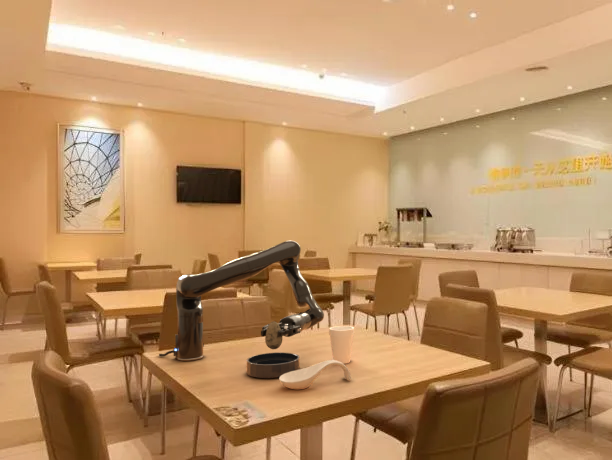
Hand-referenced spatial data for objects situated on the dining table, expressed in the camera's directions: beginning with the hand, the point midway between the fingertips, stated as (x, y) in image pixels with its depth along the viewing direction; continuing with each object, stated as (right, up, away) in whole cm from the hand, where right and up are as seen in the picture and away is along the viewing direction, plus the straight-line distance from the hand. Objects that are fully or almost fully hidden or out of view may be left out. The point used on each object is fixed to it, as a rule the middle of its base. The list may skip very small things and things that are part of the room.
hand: (270, 333), depth 187 cm
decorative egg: (+1, -6, +2) cm, 7 cm away
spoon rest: (+18, -14, -12) cm, 27 cm away
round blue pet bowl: (0, -14, +2) cm, 14 cm away
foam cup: (+23, -14, +17) cm, 32 cm away
